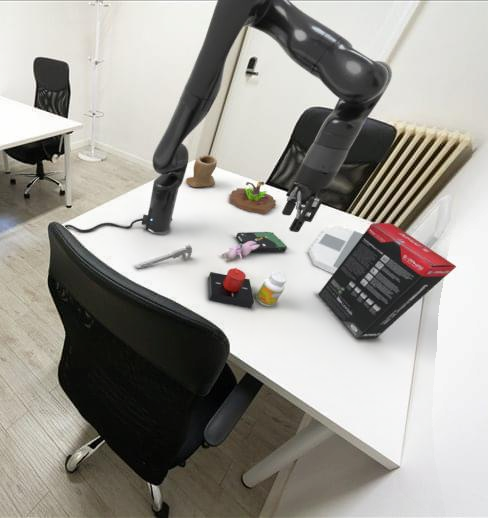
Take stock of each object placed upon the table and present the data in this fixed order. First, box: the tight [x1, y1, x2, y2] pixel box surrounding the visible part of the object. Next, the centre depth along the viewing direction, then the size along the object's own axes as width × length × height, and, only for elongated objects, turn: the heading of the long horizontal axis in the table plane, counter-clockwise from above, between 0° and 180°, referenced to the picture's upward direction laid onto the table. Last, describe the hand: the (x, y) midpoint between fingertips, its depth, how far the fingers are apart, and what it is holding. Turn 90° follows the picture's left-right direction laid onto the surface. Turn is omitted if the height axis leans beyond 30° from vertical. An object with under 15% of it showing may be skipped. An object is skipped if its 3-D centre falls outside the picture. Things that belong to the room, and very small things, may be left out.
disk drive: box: [235, 231, 288, 254], centre depth 110 cm, size 10×3×15 cm
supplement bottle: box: [255, 272, 287, 307], centre depth 86 cm, size 5×5×10 cm
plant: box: [229, 181, 277, 215], centre depth 134 cm, size 20×20×11 cm
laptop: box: [308, 193, 453, 275], centre depth 99 cm, size 33×24×26 cm
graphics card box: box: [317, 222, 457, 340], centre depth 76 cm, size 17×7×27 cm, turn 5°
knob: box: [223, 267, 247, 292], centre depth 87 cm, size 5×5×5 cm
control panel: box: [207, 271, 255, 309], centre depth 89 cm, size 12×10×3 cm
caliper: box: [135, 243, 193, 269], centre depth 98 cm, size 20×1×6 cm, turn 108°
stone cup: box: [185, 154, 218, 188], centre depth 145 cm, size 15×12×15 cm
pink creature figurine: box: [221, 241, 260, 262], centre depth 103 cm, size 6×6×15 cm
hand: (289, 222), depth 78 cm, fingers open, 8 cm apart
